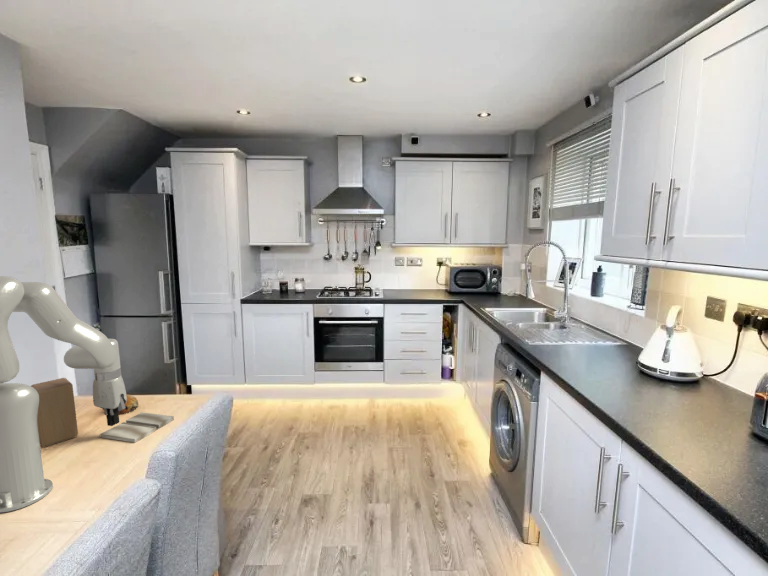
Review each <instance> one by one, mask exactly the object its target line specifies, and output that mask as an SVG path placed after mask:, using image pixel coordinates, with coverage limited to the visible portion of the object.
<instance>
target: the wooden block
mask: <svg viewBox="0 0 768 576" xmlns="http://www.w3.org/2000/svg"><path fill="white" fill-rule="evenodd" d="M30 386H31V387H33V388H34V389H35V390H36V391H37V392H38V394H39V406H38V414H37V425H38V434H39V442H40V447H41V448H46V447H50V446H52V445H55V444H58V443H62V442H65V441H68V440H70V439H73V438H77V437H78V434H79V430H78V429H79V428H78V421H77V411H76V404H75V396H74V388H73V387H74V386H73V384H72V382H71V381H69V379H67V377H61V378H57V379H52V380H48V381H43V382H39V383H35V384H32V385H30Z"/></svg>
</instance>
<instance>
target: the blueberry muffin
mask: <svg viewBox="0 0 768 576" xmlns="http://www.w3.org/2000/svg"><path fill="white" fill-rule="evenodd" d="M126 397H127V402H126V403H125V409H123V410H120V412H118V413H119V416H120V415H126V413H127V414H130V413H132V412H135V411H134V410H137V409H138V407H139V401H138V399H137V397H136V396H135V395H132V394H126ZM136 408H137V409H136ZM129 412H130V413H129Z"/></svg>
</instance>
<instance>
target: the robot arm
mask: <svg viewBox="0 0 768 576" xmlns="http://www.w3.org/2000/svg"><path fill="white" fill-rule="evenodd" d="M13 313H25V314H27V316H28V317H29V318H30V319H31V320H32V321H33V322H34V323H35V324H36V325H37V326H38V328H39V329H40V330H41V331H42V332H43V333H44V334H45V336H47V337H49V338H51V339H54V340H57V341H61V342H62V343H63V342H64V343H68V344H71V345H74V346H73V347H71V348H69V349H68V350H67V351H65V353H64V355H63V363H64V364H65V365H66V366H67V367H69V368H71V369H76V370H85V369H86V370H89V369H91V370H92V369H93V375H94V379H93V381H92V382H93V383H92V401H93V405H94V406H95V407H96V408H100V409H102V410H103V412H104V414H105V416H106V423H107V424H106V425H107V426H108V427H113V426H115V425H118V424H120V415H119V413H118V412H120V410H123V409H125V403H126V402H127V397H126V395H127V391H126V385H125V382H124V379H123V376H122V369H121V368H122V367H121V357H120V347H119V341H118V340H117V339H115V338H108V337H107V335H105V334H104V333H103V332H102V331H100V330H98V329H97V328H95V327H93V326H92V325H89V323H87V322H85V321H84V320H81V319H79V318H78V317H76V315H75V314H74V312H73V311H72V310H71V309H70V308H69V307H68V304H66V303H65V301H64V300H63V299H62V297H61V296H60V295H59V294H58V292H57V291H56V290H55V288H53V287H52V286H51V285H50V284H48V283H46V282H37V281H36V282H35V281H34V282H32V281H25V282H21V281H20V280H19V279H18V278H14V277H11V276H4V275H0V513H7V512H8V513H9V512H12V511H17V510H20V509H22V508H26V507H28V506H30V505H33V504H35V503H36V502H38V501H40V500H41V499H43V498H45V497H46V496H47V495H48V494H49V493H50V492H51V491H52V489H53V487H54V485H53V484H54V483H53V481H52V480H51V479H48V478H45V473H44V467H43V466H44V465H43V459H42V451H41V450H42V449H41V445H40V442H39V434H38V425H37V414H38V406H39V394H38V392H37V391H36V390H35V389H34V388H33V387H31V385H30V384H29V385H28V384H24V383H19V382H17V383H16V382H15V383H13V382H10V381H12V380H13V379H15V378H16V377H17V375H18V374H19V372H20V361H19V359H18V354H17V352H16V349H15V346H14V344H13V341H12V339H11V336H10V332H9V328H8V324H9V320H10V317H11V316H12V314H13Z"/></svg>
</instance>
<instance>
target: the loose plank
mask: <svg viewBox="0 0 768 576" xmlns="http://www.w3.org/2000/svg"><path fill="white" fill-rule="evenodd" d="M155 431H157V430H156V427H154V426H147V425H140V424H132V423H126V421H123V422H121V423H118V424H116V426H115V425H114V427H113V426H112V427H111V428H110V429H108V430H106V431H103V432H101V433H99V436H100V438H103V439H110V440H117V441H124V442H130V443H137V442H138V441H140V440H142V439H144V438H145V437H147V436H149V435H150V434H152V433H154V432H155Z"/></svg>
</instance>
